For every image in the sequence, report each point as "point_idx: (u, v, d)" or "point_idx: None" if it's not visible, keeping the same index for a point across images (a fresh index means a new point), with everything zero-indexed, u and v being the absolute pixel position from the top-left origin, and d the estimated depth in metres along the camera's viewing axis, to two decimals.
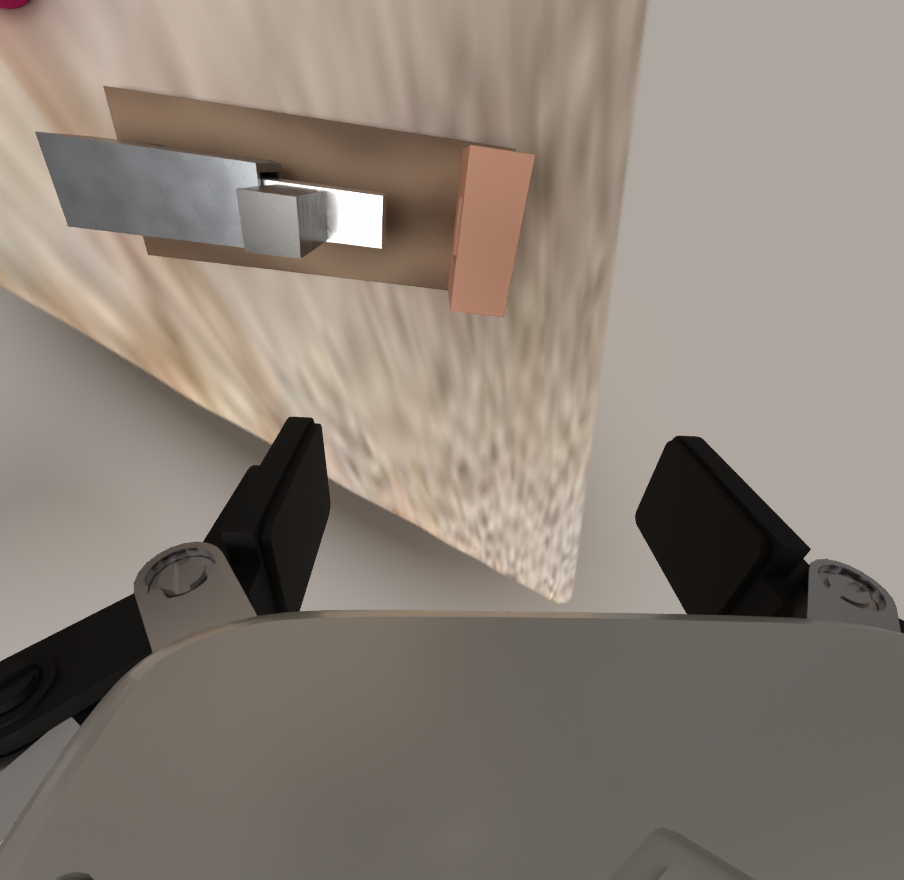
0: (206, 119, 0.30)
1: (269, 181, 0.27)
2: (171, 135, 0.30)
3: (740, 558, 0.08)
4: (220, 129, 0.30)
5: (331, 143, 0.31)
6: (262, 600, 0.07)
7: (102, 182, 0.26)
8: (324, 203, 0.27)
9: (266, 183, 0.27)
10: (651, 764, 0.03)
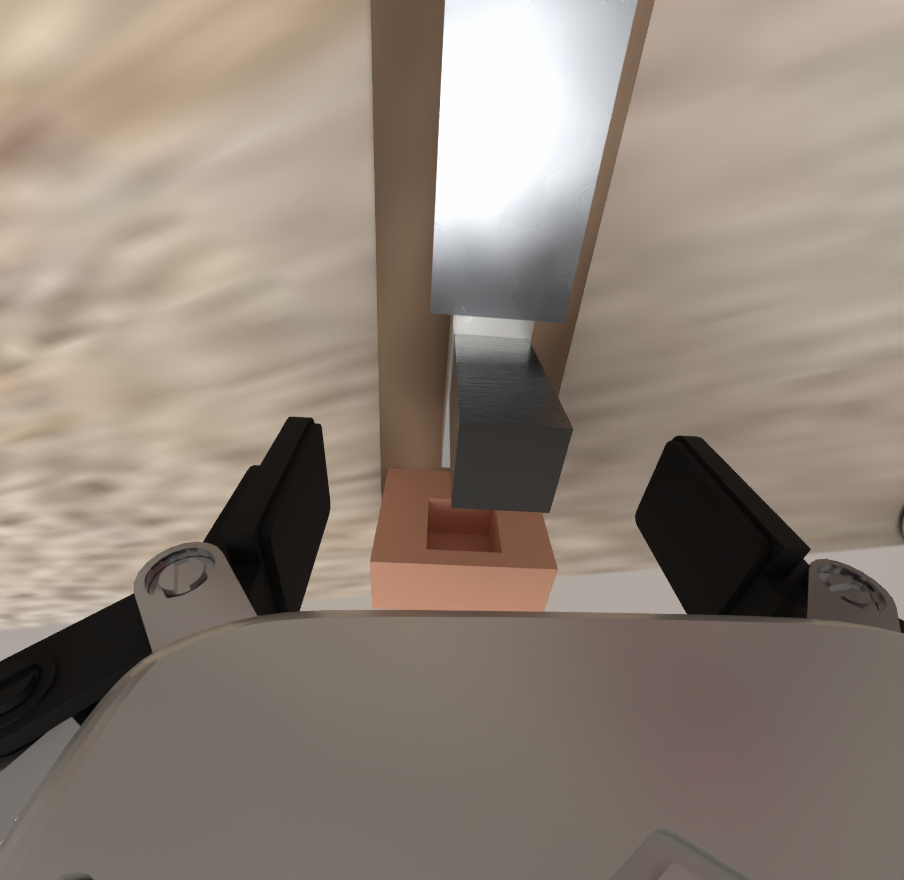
0: None
1: (532, 324, 0.16)
2: None
3: (740, 558, 0.08)
4: None
5: (548, 338, 0.23)
6: (262, 600, 0.07)
7: None
8: None
9: None
10: (651, 765, 0.03)
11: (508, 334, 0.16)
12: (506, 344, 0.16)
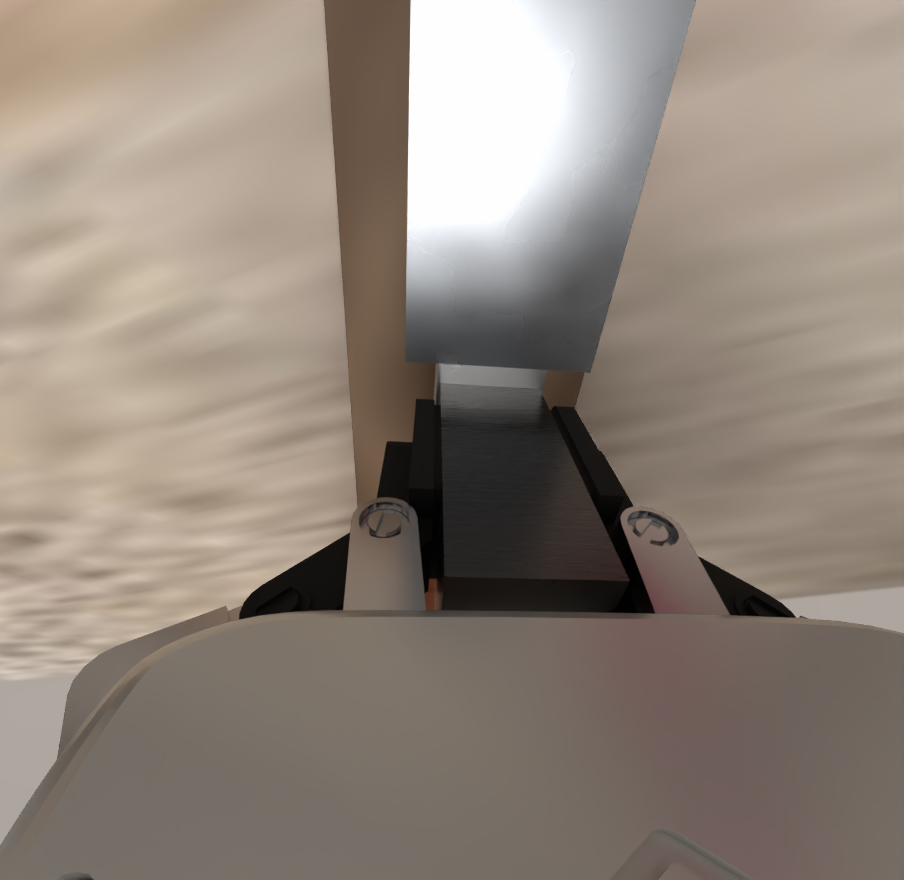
0: None
1: None
2: None
3: None
4: None
5: None
6: None
7: None
8: None
9: None
10: (651, 764, 0.03)
11: (513, 383, 0.12)
12: (510, 400, 0.12)
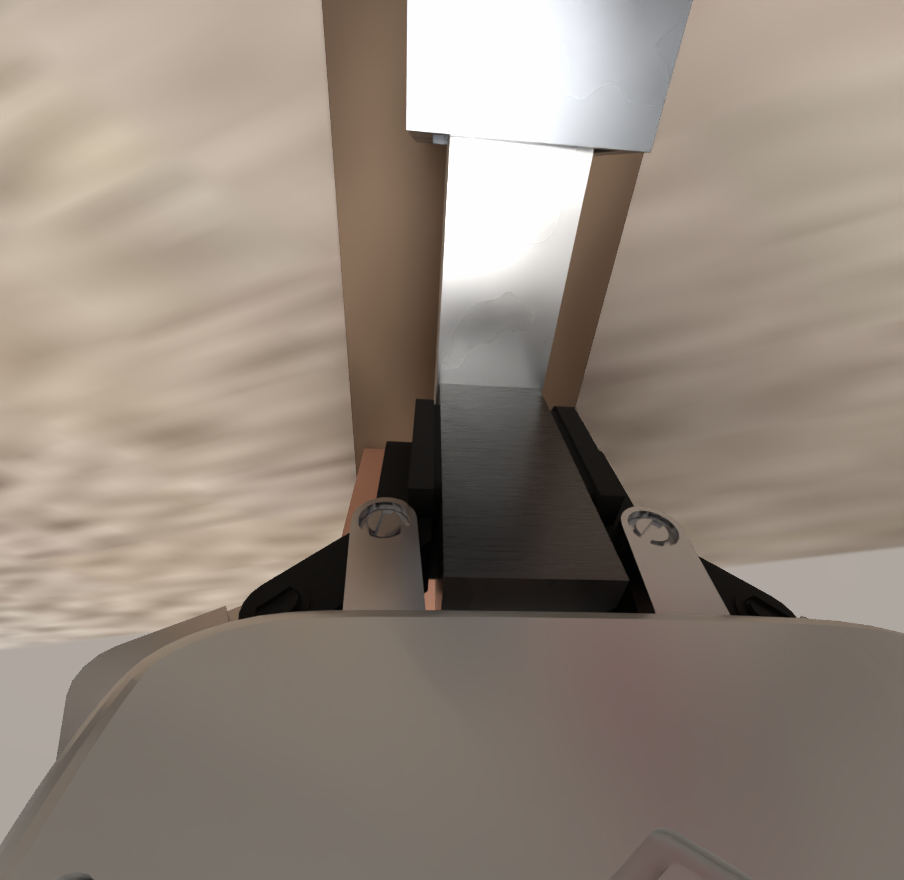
0: None
1: (544, 369, 0.12)
2: None
3: None
4: None
5: (582, 255, 0.17)
6: None
7: None
8: None
9: (541, 364, 0.12)
10: (651, 764, 0.03)
11: (512, 383, 0.12)
12: (510, 399, 0.12)
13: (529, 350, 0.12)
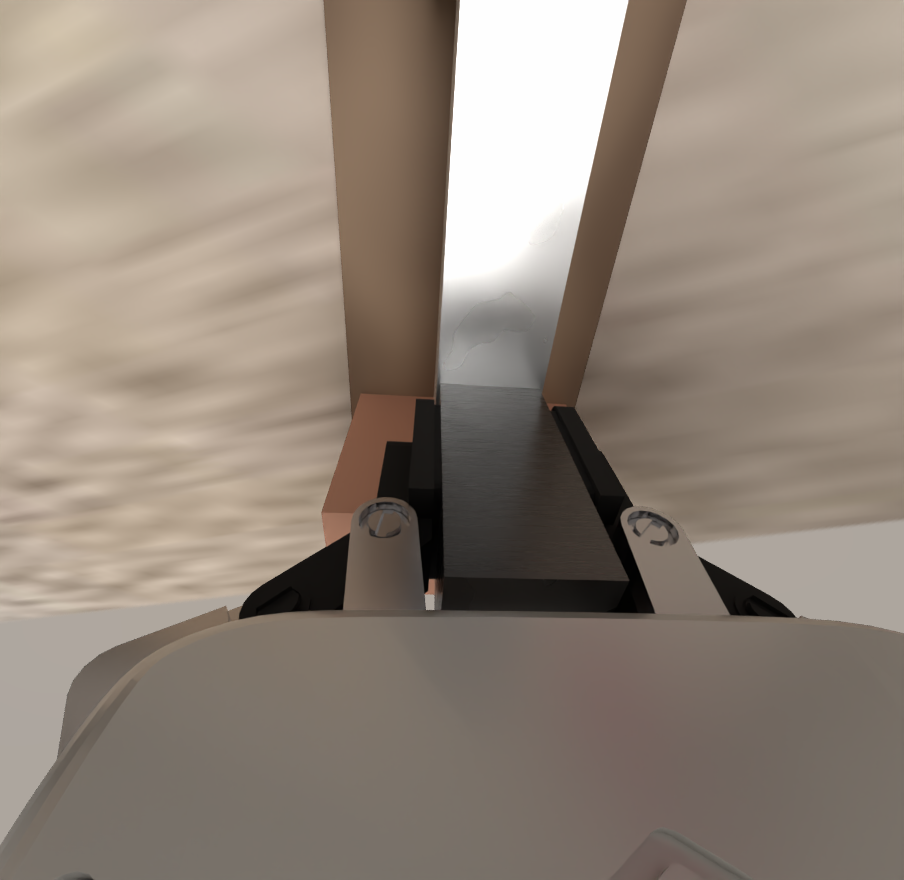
0: None
1: (544, 369, 0.12)
2: None
3: None
4: None
5: (604, 161, 0.15)
6: None
7: None
8: None
9: (542, 364, 0.12)
10: (651, 764, 0.03)
11: (513, 383, 0.12)
12: (510, 400, 0.12)
13: (529, 351, 0.12)
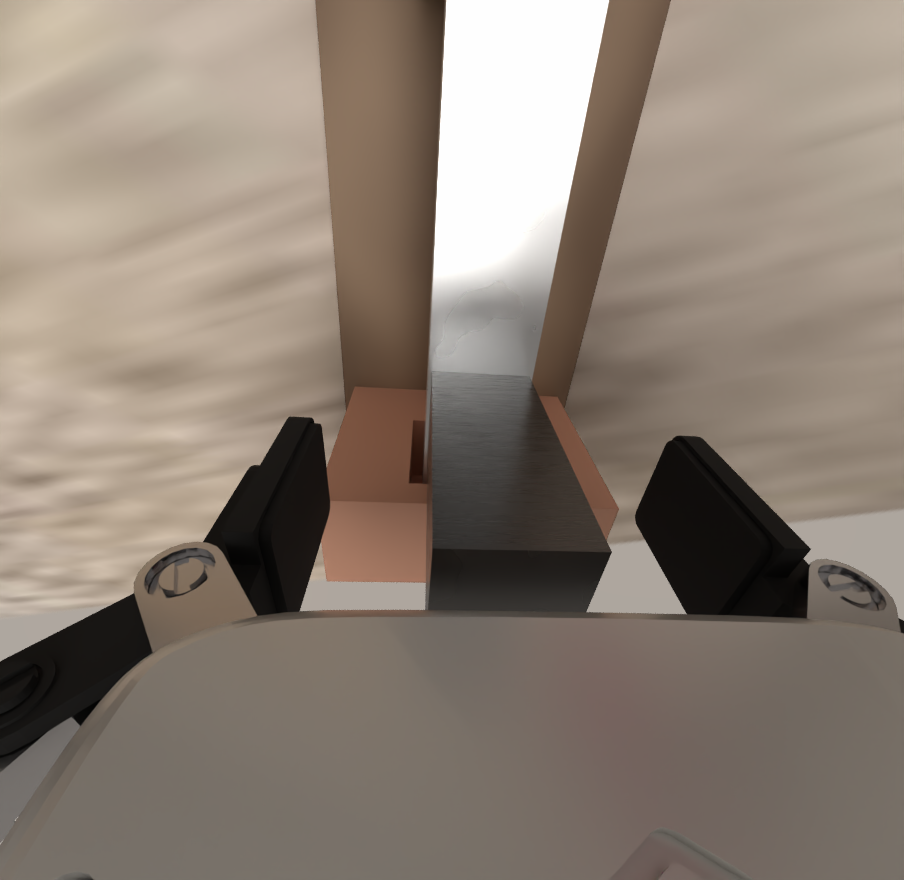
0: None
1: (534, 357, 0.12)
2: None
3: (740, 558, 0.08)
4: None
5: (593, 155, 0.15)
6: (262, 600, 0.07)
7: None
8: None
9: (531, 352, 0.12)
10: (652, 764, 0.03)
11: (503, 370, 0.12)
12: (500, 386, 0.12)
13: (519, 338, 0.12)
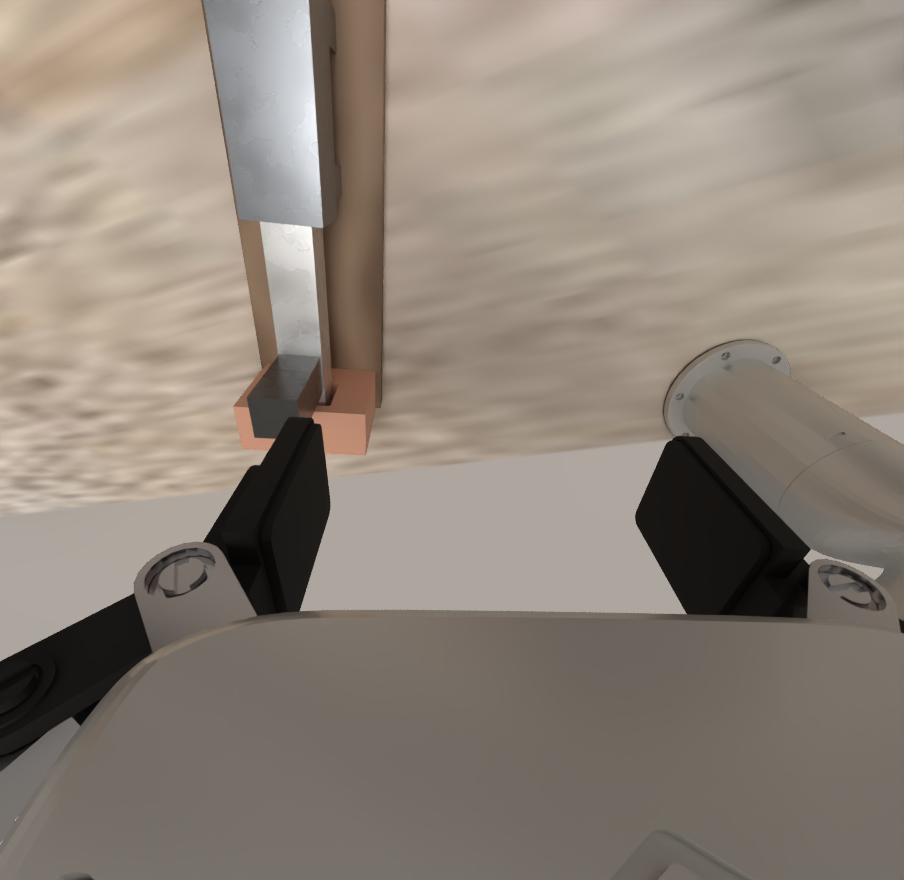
0: (368, 125, 0.29)
1: (320, 349, 0.31)
2: (348, 70, 0.27)
3: (740, 558, 0.08)
4: (361, 138, 0.29)
5: (364, 259, 0.34)
6: (262, 600, 0.07)
7: (263, 7, 0.20)
8: None
9: (318, 347, 0.31)
10: (651, 764, 0.03)
11: (308, 354, 0.31)
12: (303, 360, 0.30)
13: (311, 341, 0.31)
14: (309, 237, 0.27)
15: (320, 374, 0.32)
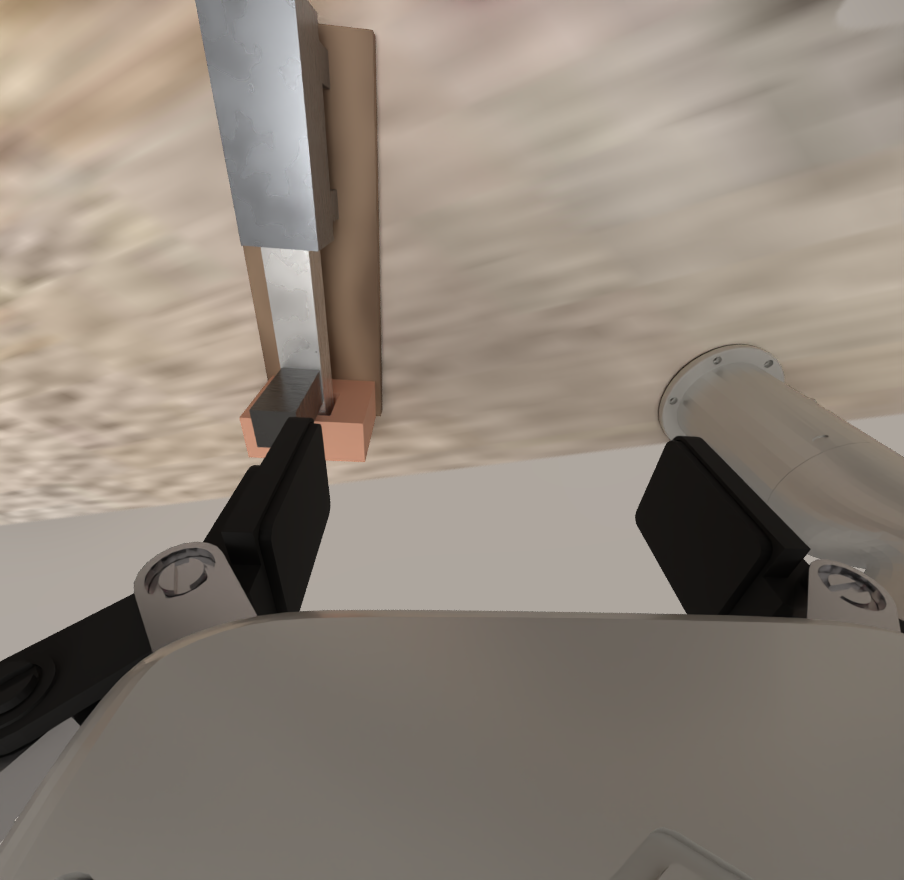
0: (361, 152, 0.31)
1: (319, 362, 0.33)
2: (341, 103, 0.29)
3: (740, 558, 0.08)
4: (355, 165, 0.31)
5: (361, 276, 0.36)
6: (262, 600, 0.07)
7: (259, 57, 0.22)
8: None
9: (317, 360, 0.33)
10: (651, 764, 0.03)
11: (309, 367, 0.33)
12: (304, 373, 0.32)
13: (311, 355, 0.32)
14: (306, 260, 0.29)
15: (320, 386, 0.33)
